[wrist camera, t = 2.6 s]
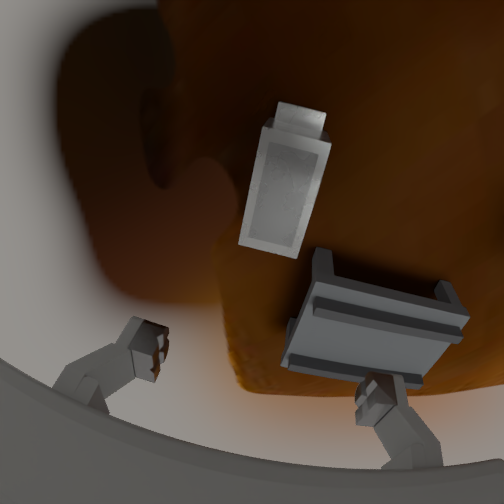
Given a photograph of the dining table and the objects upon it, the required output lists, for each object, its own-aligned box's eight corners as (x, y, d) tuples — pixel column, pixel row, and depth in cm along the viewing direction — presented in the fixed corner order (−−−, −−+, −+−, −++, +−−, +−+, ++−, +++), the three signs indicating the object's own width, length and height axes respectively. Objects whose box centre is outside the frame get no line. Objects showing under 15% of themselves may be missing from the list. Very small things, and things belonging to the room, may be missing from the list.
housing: (273, 99, 25) (266, 105, 20) (331, 114, 24) (337, 123, 20) (245, 232, 32) (234, 260, 27) (294, 244, 32) (291, 274, 27)
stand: (315, 244, 31) (316, 292, 25) (452, 281, 31) (474, 327, 25) (284, 327, 38) (279, 376, 32) (406, 350, 37) (415, 396, 31)
